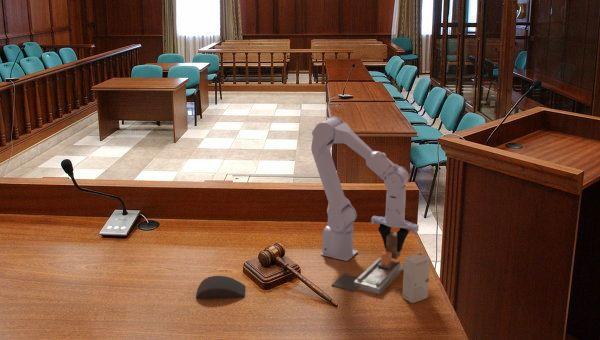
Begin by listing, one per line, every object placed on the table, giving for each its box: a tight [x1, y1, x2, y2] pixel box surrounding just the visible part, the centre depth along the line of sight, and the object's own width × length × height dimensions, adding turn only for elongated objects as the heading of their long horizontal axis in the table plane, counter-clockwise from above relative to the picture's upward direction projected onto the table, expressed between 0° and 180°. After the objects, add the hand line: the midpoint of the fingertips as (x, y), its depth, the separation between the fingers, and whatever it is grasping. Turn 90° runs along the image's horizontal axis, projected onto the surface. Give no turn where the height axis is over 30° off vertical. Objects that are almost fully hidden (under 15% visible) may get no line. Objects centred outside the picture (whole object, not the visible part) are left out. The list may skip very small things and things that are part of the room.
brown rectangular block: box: [385, 231, 402, 260], centre depth 187 cm, size 4×4×7 cm
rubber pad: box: [331, 273, 359, 293], centre depth 178 cm, size 7×8×1 cm
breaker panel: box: [354, 257, 404, 296], centre depth 180 cm, size 8×18×3 cm, turn 149°
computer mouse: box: [195, 275, 246, 300], centre depth 172 cm, size 8×14×4 cm, turn 93°
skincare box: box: [402, 252, 431, 304], centre depth 168 cm, size 6×4×12 cm
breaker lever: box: [377, 250, 396, 269], centre depth 183 cm, size 4×4×4 cm
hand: (393, 249), depth 187 cm, fingers closed on brown rectangular block, 3 cm apart
